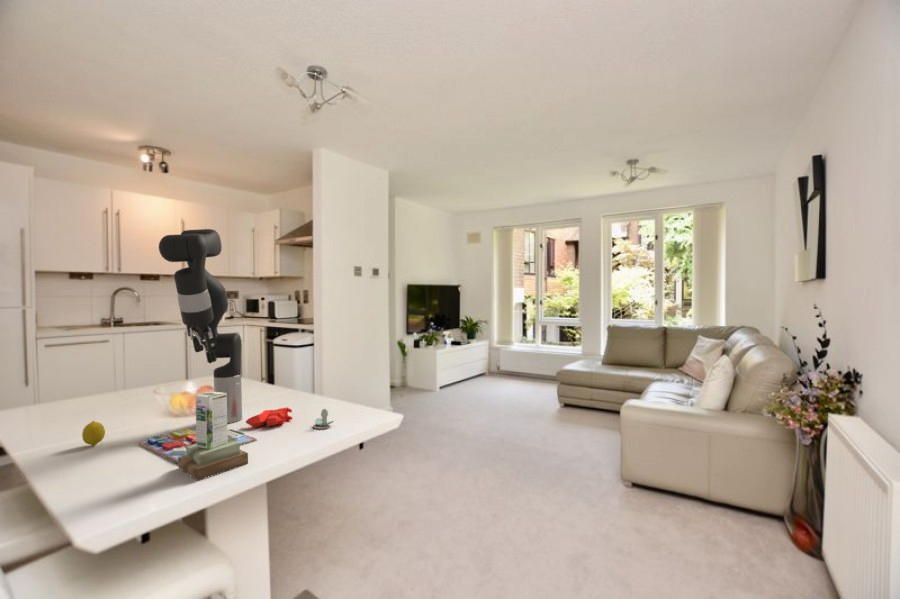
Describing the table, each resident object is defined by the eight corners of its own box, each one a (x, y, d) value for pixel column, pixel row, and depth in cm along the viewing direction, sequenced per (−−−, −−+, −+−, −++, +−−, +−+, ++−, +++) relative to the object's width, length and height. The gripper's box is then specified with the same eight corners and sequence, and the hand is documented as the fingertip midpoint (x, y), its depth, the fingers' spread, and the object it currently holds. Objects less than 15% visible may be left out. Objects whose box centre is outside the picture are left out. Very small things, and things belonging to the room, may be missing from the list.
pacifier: (323, 431, 144) (336, 425, 149) (322, 413, 144) (335, 408, 149) (308, 428, 148) (321, 423, 153) (308, 411, 147) (320, 406, 152)
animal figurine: (242, 427, 150) (241, 414, 150) (282, 417, 161) (281, 404, 161) (255, 434, 142) (254, 419, 142) (296, 423, 153) (296, 409, 153)
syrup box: (195, 447, 114) (193, 395, 114) (214, 440, 119) (213, 390, 119) (209, 450, 112) (208, 396, 111) (228, 442, 117) (227, 391, 117)
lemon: (80, 450, 129) (79, 425, 129) (85, 444, 134) (85, 420, 134) (102, 447, 132) (101, 422, 132) (107, 441, 137) (106, 417, 137)
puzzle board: (257, 442, 136) (257, 434, 136) (180, 467, 117) (180, 458, 117) (211, 426, 153) (211, 419, 153) (138, 446, 134) (137, 438, 134)
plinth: (178, 468, 115) (177, 446, 115) (227, 453, 125) (226, 433, 125) (198, 480, 107) (197, 457, 107) (248, 463, 117) (247, 442, 117)
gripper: (221, 309, 112) (230, 360, 119) (199, 294, 120) (208, 343, 127) (191, 317, 107) (202, 370, 113) (170, 301, 115) (181, 352, 121)
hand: (205, 356), depth 120 cm, fingers open, 8 cm apart
